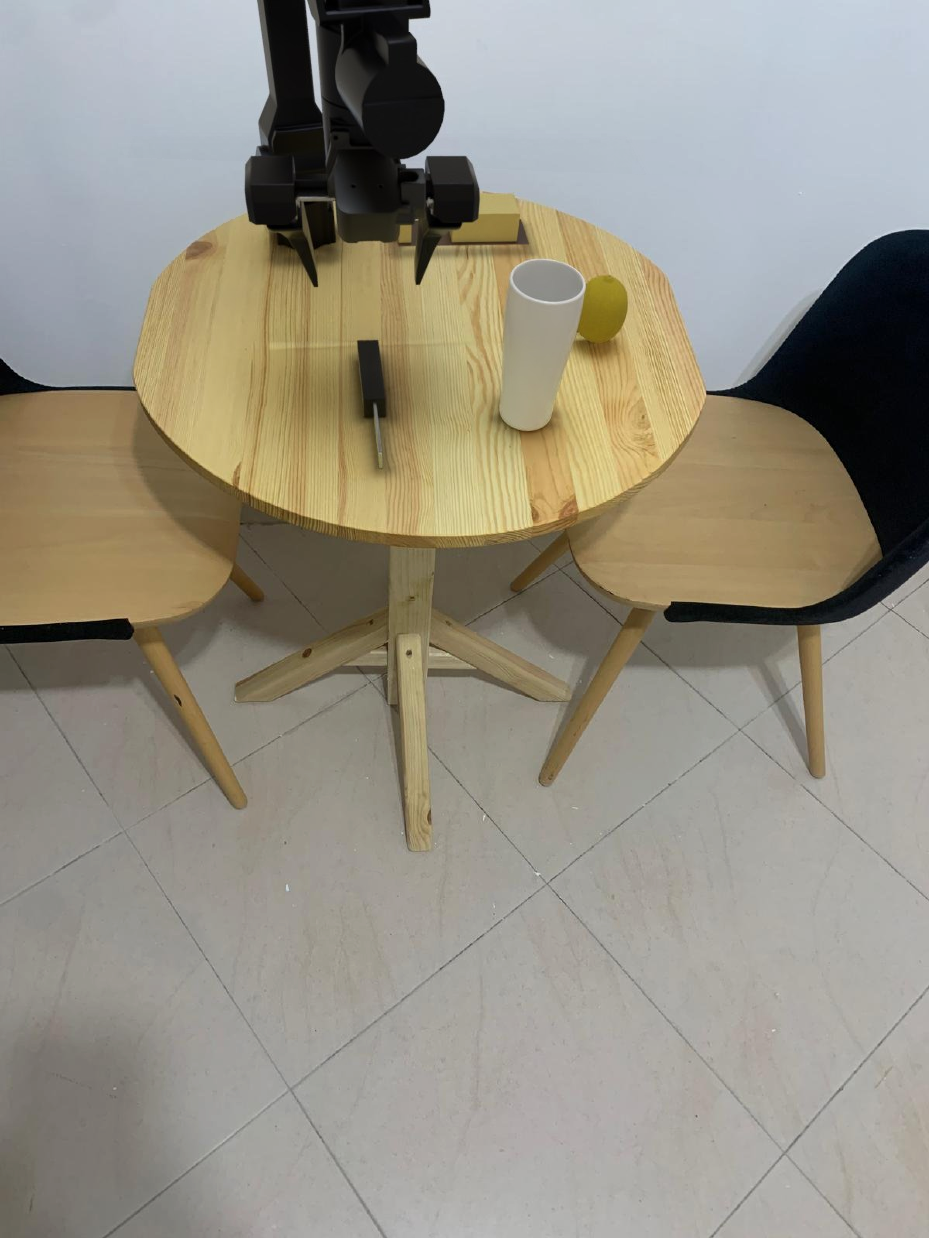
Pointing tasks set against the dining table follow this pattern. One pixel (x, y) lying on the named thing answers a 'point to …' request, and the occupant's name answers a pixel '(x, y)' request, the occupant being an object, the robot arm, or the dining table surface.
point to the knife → (372, 385)
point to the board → (447, 242)
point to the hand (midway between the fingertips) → (367, 283)
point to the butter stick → (492, 221)
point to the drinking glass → (537, 338)
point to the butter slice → (405, 234)
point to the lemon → (603, 309)
